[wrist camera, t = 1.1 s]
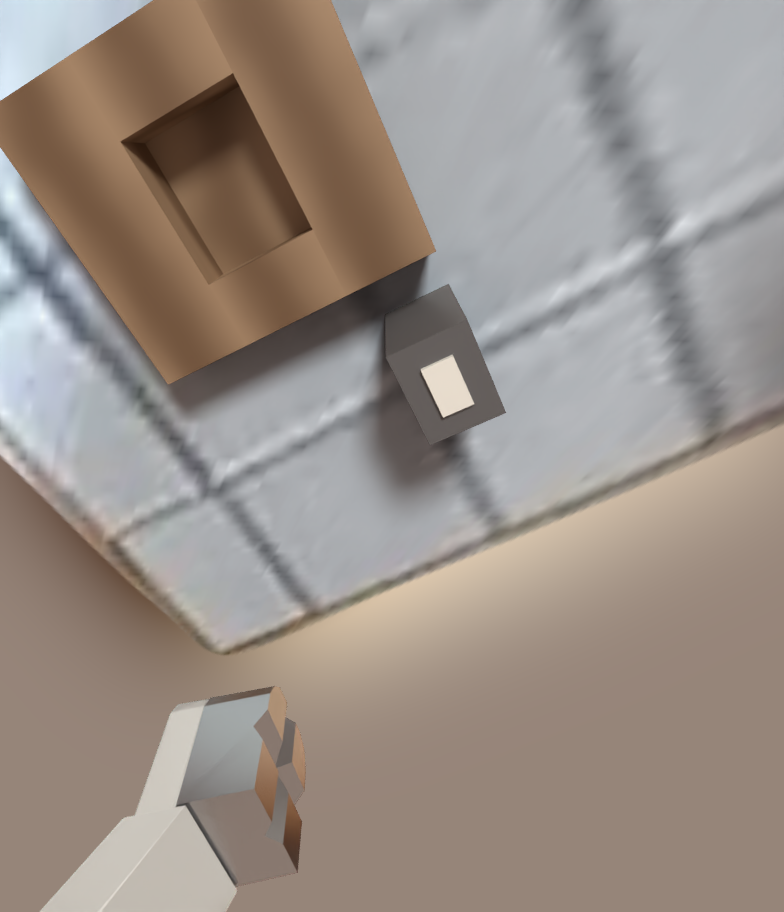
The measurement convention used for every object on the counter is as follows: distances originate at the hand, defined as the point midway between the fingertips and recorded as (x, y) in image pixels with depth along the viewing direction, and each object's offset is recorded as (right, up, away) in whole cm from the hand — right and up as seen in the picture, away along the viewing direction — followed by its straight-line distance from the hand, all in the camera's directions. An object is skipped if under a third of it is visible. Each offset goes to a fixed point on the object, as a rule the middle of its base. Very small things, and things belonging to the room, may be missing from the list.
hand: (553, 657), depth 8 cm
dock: (-11, +17, +21) cm, 29 cm away
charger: (0, +10, +25) cm, 27 cm away
